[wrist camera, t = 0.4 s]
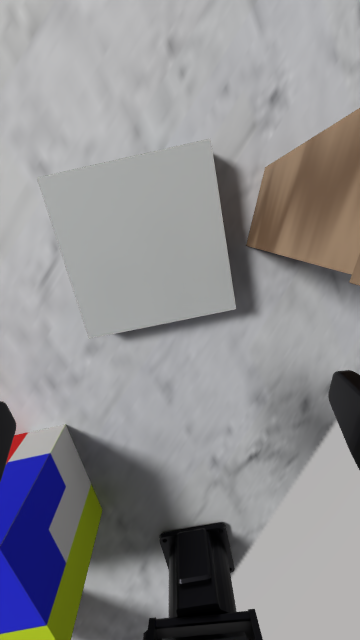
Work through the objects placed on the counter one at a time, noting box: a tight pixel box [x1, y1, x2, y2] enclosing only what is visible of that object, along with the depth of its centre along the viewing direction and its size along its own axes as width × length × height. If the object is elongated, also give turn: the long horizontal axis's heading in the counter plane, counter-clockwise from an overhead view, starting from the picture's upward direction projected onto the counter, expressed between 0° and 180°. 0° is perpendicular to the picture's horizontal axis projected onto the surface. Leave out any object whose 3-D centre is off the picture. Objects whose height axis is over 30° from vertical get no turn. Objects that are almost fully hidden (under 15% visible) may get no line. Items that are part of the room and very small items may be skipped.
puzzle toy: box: [0, 424, 102, 640], centre depth 22 cm, size 10×10×10 cm
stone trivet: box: [37, 139, 236, 339], centre depth 19 cm, size 10×10×3 cm
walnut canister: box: [246, 108, 360, 286], centre depth 13 cm, size 5×5×14 cm
